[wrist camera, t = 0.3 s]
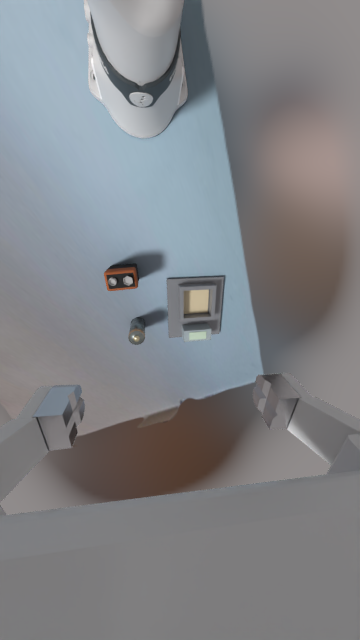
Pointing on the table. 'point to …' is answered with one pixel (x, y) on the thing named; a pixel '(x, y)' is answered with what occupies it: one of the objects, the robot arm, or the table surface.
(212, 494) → the robot arm
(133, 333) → the cell
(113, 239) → the table surface
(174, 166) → the table surface
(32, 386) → the table surface
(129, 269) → the battery
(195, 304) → the tester
